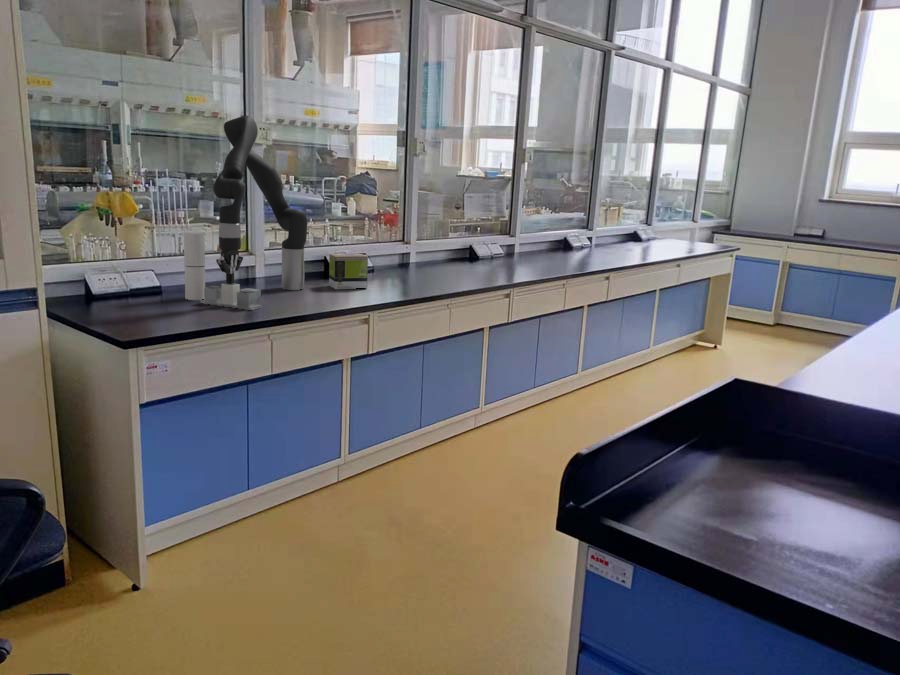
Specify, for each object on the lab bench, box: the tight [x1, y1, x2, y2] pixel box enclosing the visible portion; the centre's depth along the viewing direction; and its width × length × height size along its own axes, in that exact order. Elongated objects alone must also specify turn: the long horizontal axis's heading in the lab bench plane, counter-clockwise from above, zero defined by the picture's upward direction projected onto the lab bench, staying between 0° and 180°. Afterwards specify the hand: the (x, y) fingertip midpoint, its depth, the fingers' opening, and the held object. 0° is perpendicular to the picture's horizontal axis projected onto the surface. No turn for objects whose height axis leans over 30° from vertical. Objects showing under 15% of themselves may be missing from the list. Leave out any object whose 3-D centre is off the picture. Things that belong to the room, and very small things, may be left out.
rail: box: [199, 285, 262, 311], centre depth 252 cm, size 6×22×6 cm, turn 71°
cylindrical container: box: [183, 230, 206, 301], centre depth 258 cm, size 7×7×25 cm
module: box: [220, 282, 241, 305], centre depth 251 cm, size 4×5×7 cm
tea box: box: [328, 253, 369, 290], centre depth 303 cm, size 15×10×15 cm
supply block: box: [240, 287, 262, 300], centre depth 268 cm, size 6×6×4 cm
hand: (230, 283), depth 250 cm, fingers closed
